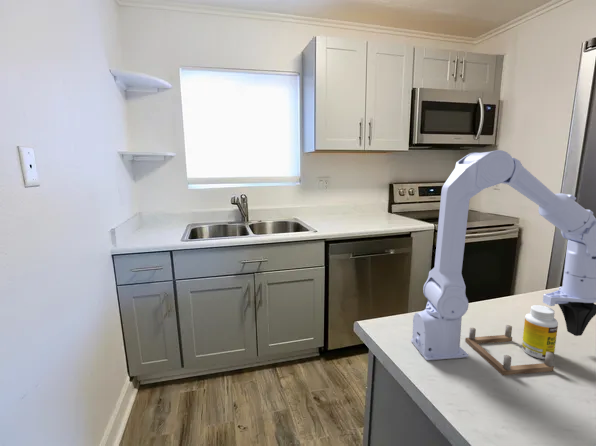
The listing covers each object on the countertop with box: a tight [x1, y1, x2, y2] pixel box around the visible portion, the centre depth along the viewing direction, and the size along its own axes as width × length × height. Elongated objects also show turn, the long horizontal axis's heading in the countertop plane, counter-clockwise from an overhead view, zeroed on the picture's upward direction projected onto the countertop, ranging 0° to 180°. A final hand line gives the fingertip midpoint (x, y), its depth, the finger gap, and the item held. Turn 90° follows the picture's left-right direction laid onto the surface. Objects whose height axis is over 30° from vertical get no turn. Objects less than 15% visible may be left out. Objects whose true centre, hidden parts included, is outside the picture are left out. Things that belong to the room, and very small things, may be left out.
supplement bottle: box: [521, 304, 559, 360], centre depth 66 cm, size 6×6×10 cm
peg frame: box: [464, 324, 555, 376], centre depth 66 cm, size 11×12×4 cm
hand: (574, 333), depth 67 cm, fingers closed
